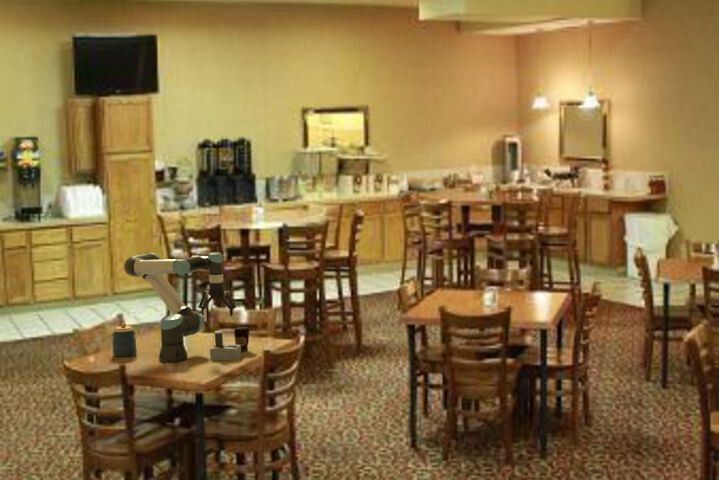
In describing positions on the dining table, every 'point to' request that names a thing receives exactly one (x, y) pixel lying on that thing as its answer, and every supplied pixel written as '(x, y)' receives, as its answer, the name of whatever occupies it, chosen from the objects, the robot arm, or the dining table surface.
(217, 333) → the plug
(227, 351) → the socket box
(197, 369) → the dining table surface
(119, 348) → the canister
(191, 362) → the dining table surface
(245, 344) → the coffee cup
